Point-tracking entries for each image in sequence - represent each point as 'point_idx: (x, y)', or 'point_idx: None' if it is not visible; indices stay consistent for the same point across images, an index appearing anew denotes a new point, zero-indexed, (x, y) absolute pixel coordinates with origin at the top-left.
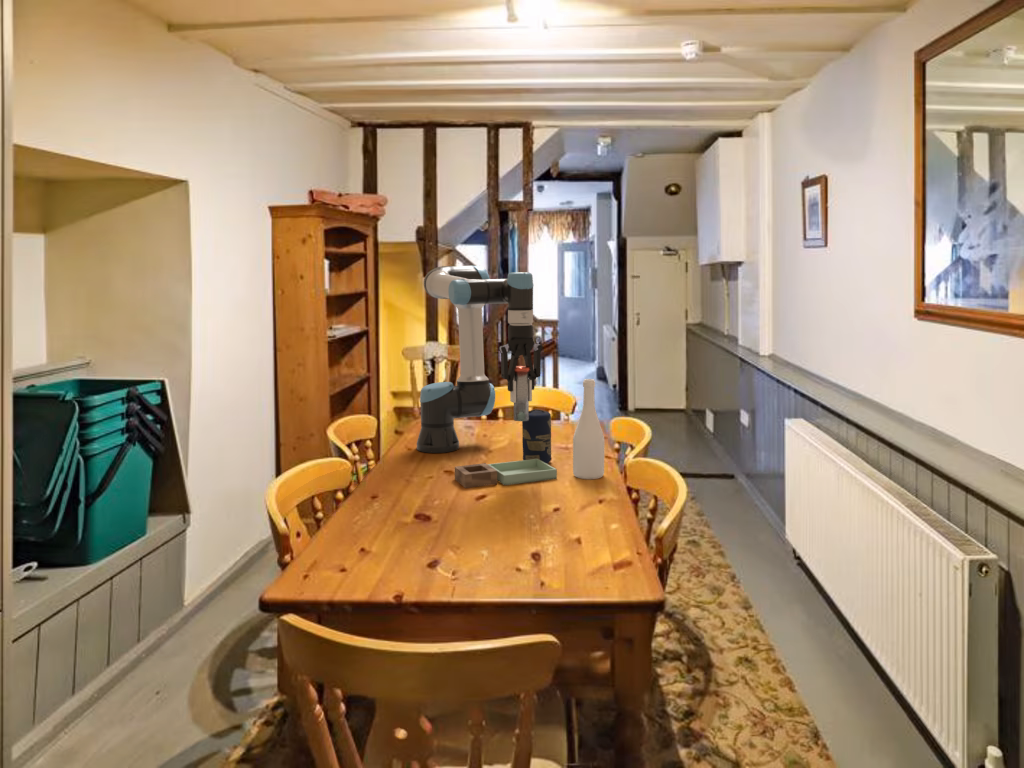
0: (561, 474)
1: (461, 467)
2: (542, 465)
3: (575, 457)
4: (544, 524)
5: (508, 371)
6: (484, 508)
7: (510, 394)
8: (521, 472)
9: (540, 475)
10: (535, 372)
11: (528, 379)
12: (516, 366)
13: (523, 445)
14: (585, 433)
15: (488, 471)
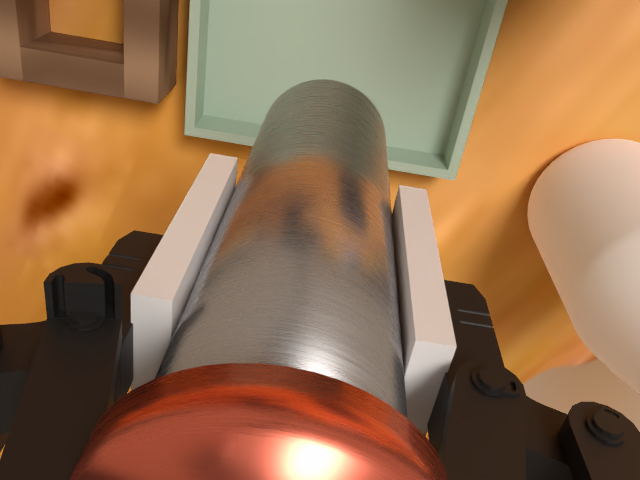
0: (519, 113)
1: None
2: (484, 28)
3: (549, 240)
4: None
5: (18, 418)
6: (28, 300)
7: (190, 190)
8: (359, 2)
9: None
10: (599, 473)
11: (418, 390)
12: (220, 472)
13: None
14: (609, 367)
15: (115, 86)
